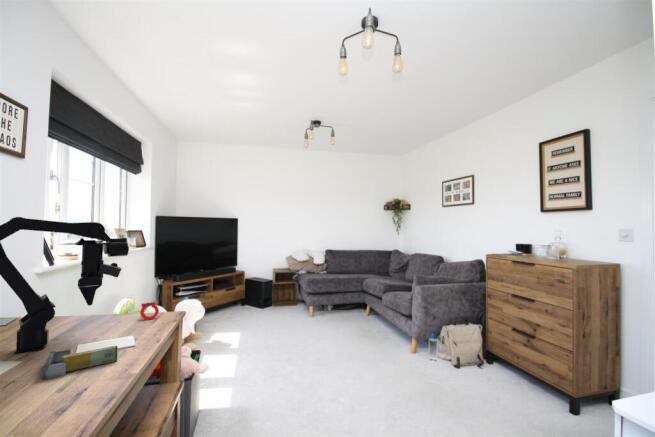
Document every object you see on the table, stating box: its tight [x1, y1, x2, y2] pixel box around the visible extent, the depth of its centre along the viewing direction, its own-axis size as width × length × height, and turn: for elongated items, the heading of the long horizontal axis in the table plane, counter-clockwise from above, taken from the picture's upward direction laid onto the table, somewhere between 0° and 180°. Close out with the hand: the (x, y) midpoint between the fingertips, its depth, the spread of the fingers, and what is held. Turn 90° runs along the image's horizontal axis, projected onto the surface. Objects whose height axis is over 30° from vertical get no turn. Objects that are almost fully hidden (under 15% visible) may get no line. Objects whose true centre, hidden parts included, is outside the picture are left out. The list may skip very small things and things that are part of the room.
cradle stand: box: [41, 348, 72, 381], centre depth 80 cm, size 4×11×3 cm, turn 36°
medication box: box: [62, 346, 119, 373], centre depth 82 cm, size 12×3×4 cm, turn 131°
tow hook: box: [139, 301, 160, 321], centre depth 126 cm, size 7×10×7 cm
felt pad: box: [75, 335, 136, 353], centre depth 95 cm, size 15×10×1 cm, turn 126°
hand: (90, 302), depth 103 cm, fingers open, 9 cm apart
